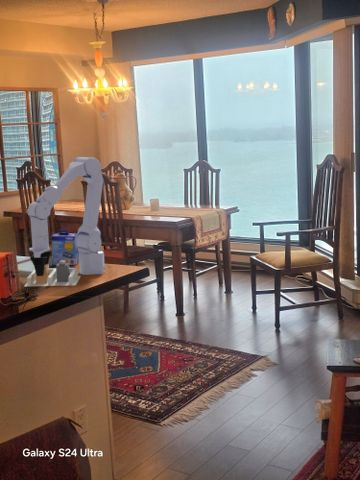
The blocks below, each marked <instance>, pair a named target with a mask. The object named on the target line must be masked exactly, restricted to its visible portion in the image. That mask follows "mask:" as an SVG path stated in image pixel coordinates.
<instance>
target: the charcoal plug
mask: <svg viewBox="0 0 360 480" xmlns="http://www.w3.org/2000/svg"><path fill="white" fill-rule="evenodd" d="M55 268H56V274H57V282H68V281H69V278H68V277H69V275H70V273H69V268H70V265H69V263H66V261H65V260H62V261H59V263H58V264H57V265H55Z"/></svg>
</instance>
